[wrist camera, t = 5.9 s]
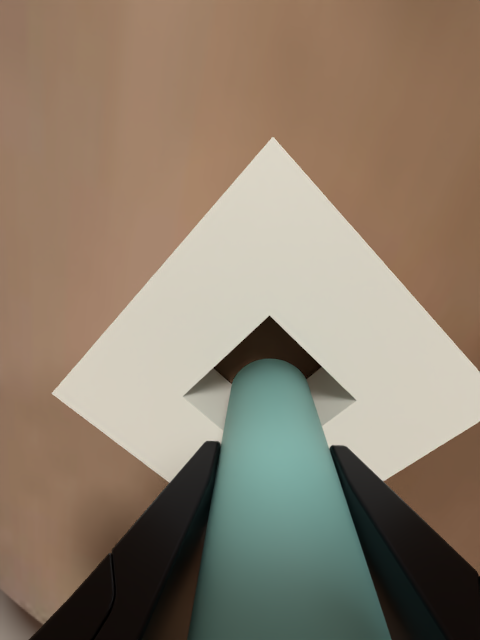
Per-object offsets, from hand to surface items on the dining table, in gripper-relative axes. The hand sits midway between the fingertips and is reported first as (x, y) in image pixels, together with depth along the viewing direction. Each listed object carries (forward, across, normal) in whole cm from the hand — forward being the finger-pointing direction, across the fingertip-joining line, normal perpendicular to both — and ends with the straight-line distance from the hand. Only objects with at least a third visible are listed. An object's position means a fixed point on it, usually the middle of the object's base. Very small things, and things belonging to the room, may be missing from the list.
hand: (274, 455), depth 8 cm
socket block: (+6, 0, 0) cm, 6 cm away
